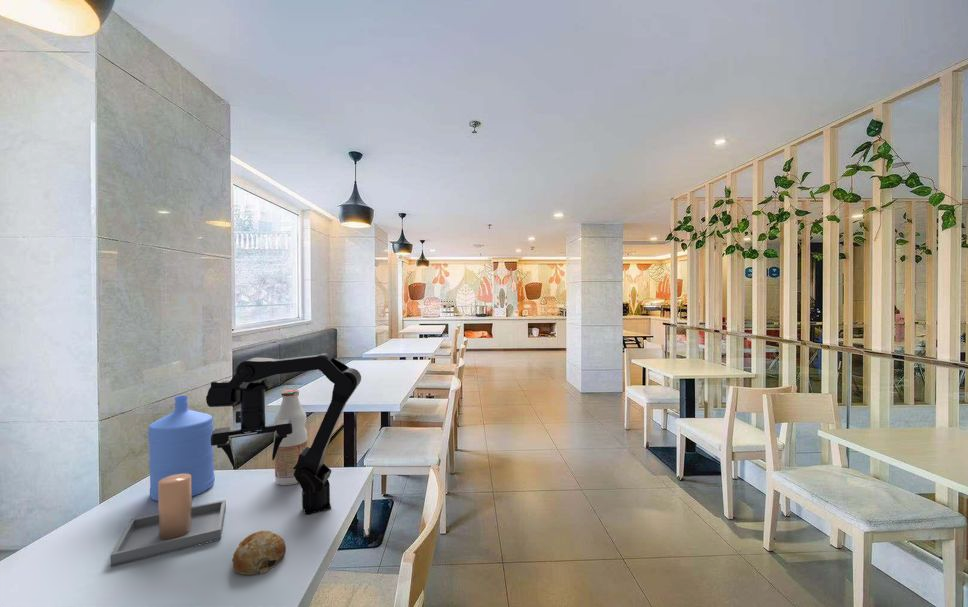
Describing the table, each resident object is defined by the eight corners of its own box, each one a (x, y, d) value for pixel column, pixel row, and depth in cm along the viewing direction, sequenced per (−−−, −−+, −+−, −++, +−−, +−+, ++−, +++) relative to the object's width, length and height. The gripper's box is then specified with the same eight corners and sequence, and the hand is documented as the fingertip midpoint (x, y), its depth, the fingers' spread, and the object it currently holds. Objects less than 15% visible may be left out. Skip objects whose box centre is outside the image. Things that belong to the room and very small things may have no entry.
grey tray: (225, 508, 112) (225, 499, 112) (220, 539, 98) (220, 529, 98) (131, 529, 103) (131, 519, 103) (111, 566, 89) (110, 555, 89)
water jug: (202, 499, 118) (199, 401, 117) (137, 506, 114) (134, 405, 113) (222, 475, 133) (220, 389, 132) (166, 481, 129) (164, 392, 128)
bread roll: (243, 597, 85) (252, 568, 83) (220, 561, 89) (227, 533, 87) (288, 569, 93) (297, 543, 91) (264, 537, 98) (272, 511, 96)
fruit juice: (282, 489, 124) (280, 396, 123) (270, 479, 130) (268, 391, 129) (313, 478, 130) (311, 390, 130) (300, 470, 137) (299, 386, 136)
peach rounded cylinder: (197, 524, 104) (197, 473, 104) (180, 539, 98) (180, 484, 97) (170, 525, 104) (170, 473, 103) (152, 540, 97) (151, 485, 97)
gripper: (289, 394, 122) (290, 447, 122) (214, 403, 113) (215, 459, 114) (291, 403, 112) (292, 460, 113) (209, 413, 103) (211, 475, 104)
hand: (253, 463), depth 111 cm, fingers open, 9 cm apart
